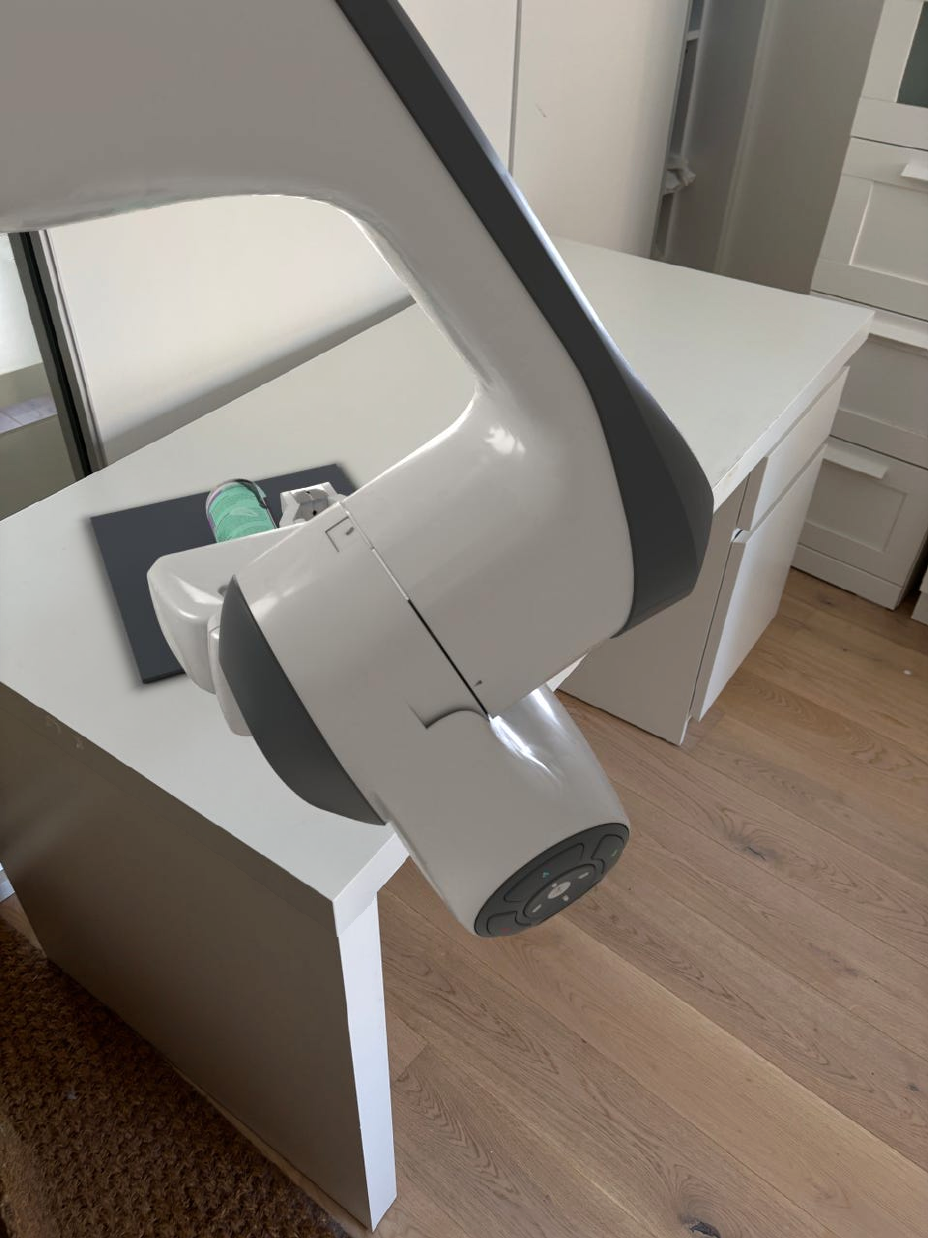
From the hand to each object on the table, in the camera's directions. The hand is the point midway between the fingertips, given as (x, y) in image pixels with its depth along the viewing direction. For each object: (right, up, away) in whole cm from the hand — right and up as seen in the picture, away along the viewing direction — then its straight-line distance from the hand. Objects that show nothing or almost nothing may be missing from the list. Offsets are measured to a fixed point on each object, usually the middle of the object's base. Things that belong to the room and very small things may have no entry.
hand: (304, 497), depth 56 cm
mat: (-9, -2, +29) cm, 30 cm away
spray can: (-4, -7, +17) cm, 19 cm away
